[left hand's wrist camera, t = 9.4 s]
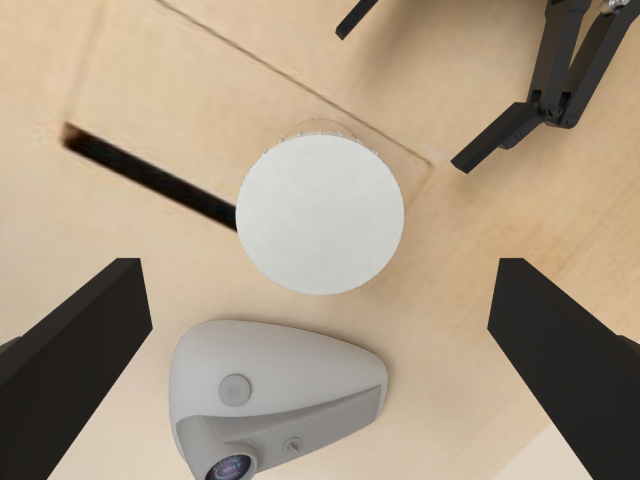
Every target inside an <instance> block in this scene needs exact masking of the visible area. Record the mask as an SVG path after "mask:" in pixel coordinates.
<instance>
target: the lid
mask: <svg viewBox="0 0 640 480" xmlns="http://www.w3.org/2000/svg"><path fill="white" fill-rule="evenodd" d="M262 155H263V156H262V157H261V158H260V159H259V160H258V161H257V162H256V163H254V164H253V165H252V166H251V167H250V169H249V170H250V171H249V173H248V174H247V176H246V178H245V180H244V181H243V183H242V185H241V186H240V187H241V189H240V192H239V195H238V200H237V204H236V205H237V206H236V225H237V231H238V235H239V238H240V241H241V244H242V246H243V248H244V250H245V253H246V254H247V256H248V257H249V259H250V260H251V262H252V263H253V264H254V265H255V267H256V268H257V269H258V270H259V271H260V272H261V273H262V274H263V275H265V276H266V277H267V278H268V279H270V280H271V281H273V282H274V283H276V284H278V285H280V286H281V287H283V288H286V289H288V290H291V291H294V292H298V293H301V294H307V295H321V296H323V295H334V294H339V293H343V292H346V291H349V290H352V289H354V288H357V287H359V286H361V285H363V284H364V283H366V282H368V281H369V280H371V279H372V278H373V277H374V276H376V275H377V274H378V273H379V272H380V271H381V270H382V269H383V268H384V267H385V266H386V265H387V263H388V262H389V261H390V259H391V258H392V256H393V254H394V253H395V251H396V249H397V247H398V244H399V242H400V240H401V236H402V232H403V227H404V204H403V198H402V194H401V191H400V188H399V187H400V186H399V184H398V183H397V181H396V179H395V177H394V176H393V174H392V172H391V171H390V170H391V168H390V167H389V166H388V165H387V164H386V163H384V162H383V161H382V160H381V159H380V158H379V156H378V153H377V152H376V151H375V150H374V149H373V150H371V149H370V148H369V147H368V146H366V145H365V144H363V143H362V142H361V141H360V140H359V139H358V138H357V140H356V139H354V138H352V137H350V136H347V135H344V134H342V133H341V132H339V133H336V132H330V131H321V129H319V131H310V132H304V133H302V131H301V132H300V133H299V134H296V135H293V136H291V137H288V138H286V139H284V138H282V139H281V140H280V142H279V143H277V144H276V145H274V146H273V147H271V148H270V149H269V150H268V149H267V150H265V152H264V153H263V154H262Z"/></svg>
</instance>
